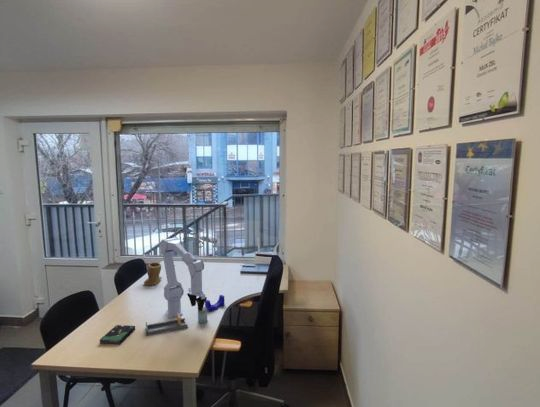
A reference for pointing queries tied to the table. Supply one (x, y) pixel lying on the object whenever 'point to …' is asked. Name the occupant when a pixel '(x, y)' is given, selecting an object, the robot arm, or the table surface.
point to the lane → (165, 327)
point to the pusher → (178, 319)
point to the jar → (202, 316)
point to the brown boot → (153, 273)
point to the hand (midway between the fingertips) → (197, 308)
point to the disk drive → (117, 335)
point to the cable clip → (216, 305)
